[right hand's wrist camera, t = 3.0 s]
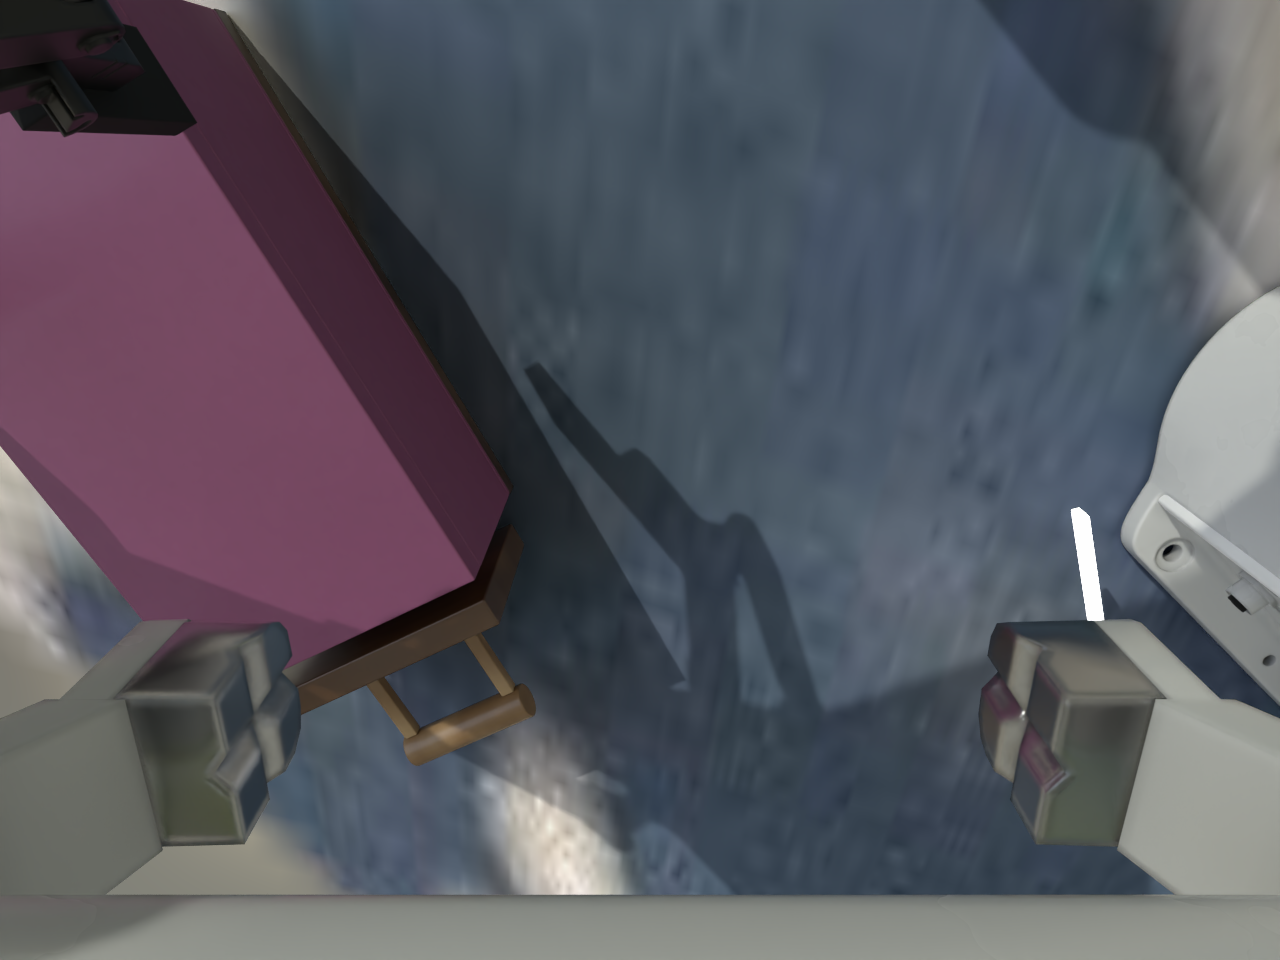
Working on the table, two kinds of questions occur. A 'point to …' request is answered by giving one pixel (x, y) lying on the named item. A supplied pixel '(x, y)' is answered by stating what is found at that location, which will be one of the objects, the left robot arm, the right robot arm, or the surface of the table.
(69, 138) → the cabinet
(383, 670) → the drawer
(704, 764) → the table surface
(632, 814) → the table surface
